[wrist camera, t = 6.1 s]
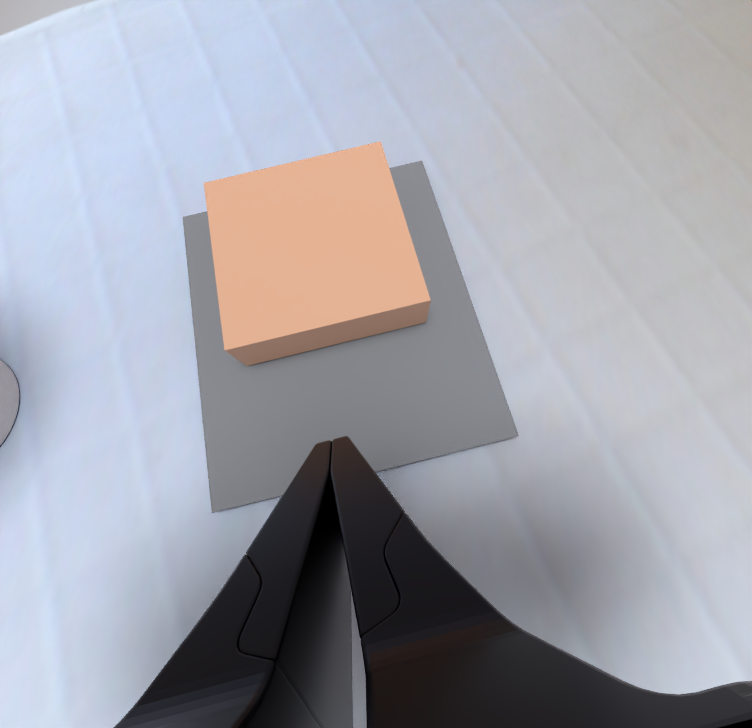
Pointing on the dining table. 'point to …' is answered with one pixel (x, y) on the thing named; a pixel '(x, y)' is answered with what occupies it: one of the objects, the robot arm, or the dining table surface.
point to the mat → (348, 376)
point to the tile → (312, 255)
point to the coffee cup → (7, 400)
